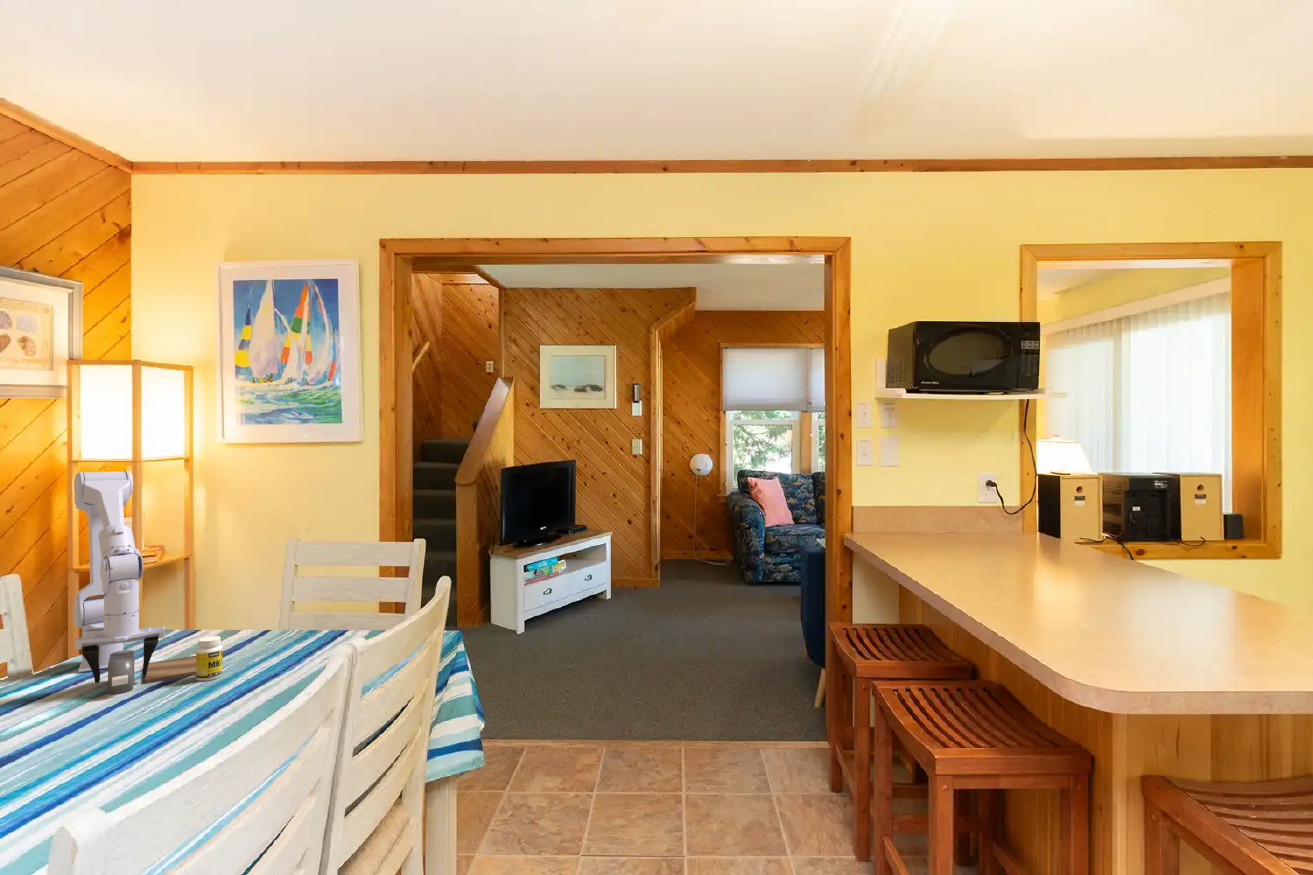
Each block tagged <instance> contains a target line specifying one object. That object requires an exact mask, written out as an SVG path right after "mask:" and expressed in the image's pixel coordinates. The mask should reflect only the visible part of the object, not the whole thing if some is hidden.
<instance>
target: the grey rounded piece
mask: <svg viewBox="0 0 1313 875" xmlns="http://www.w3.org/2000/svg"><path fill="white" fill-rule="evenodd" d="M134 683H135V650H133V649H126V650H124V649H123V651H117V652H114V653H111V654H110V658H109V662H108V668H107V694H108V695H111V696H113V695H115V696H116V695H121V694H126V693H130V692H131V691H133V690H134Z"/></svg>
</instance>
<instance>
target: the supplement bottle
mask: <svg viewBox="0 0 1313 875" xmlns="http://www.w3.org/2000/svg"><path fill="white" fill-rule="evenodd" d="M221 642H222V640H221V636H218V635H213V636H205V637H201V638H199V639H198V643H197V644H198V648H197V649H196V652H195V656H196V675H195V679H196V681H198V682H208V681H213V680H216V679H220V677H222V675H223V646H222V645H221Z"/></svg>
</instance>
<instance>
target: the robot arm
mask: <svg viewBox="0 0 1313 875" xmlns="http://www.w3.org/2000/svg"><path fill="white" fill-rule="evenodd" d="M73 481H74V482H73V492H74V498H73V499H74V504H75V509H77V510H80V511H83V512H85V514H86V517H87V520H88V525H87V526H88V552H89V555H88V556H89V561H88V562H89V583H88V584H87V585H86V586H84V587H82V588H81V589H79V591H77V592H76V594H75V595H74V601H73V602H74V603H73V609H72V610H73V611H72V612H73V614H72V615H73V623H74V626H75V628H76V627H77V628H78V629H82V630H81V631H82V632H81V633H82V635H81V636H82V637H77V638H75V641H74V648H75V649H74V650H75V651H79V650H81V654H82V657H81V662H80V665H79V668H78V673H83V672H84V673H85V672H91V673H92V675H93V680H94V684H99V683H100V681H101V671H100V670H104V669H105V670H106V669H108V662H109V658H110V654H111V653H114V652H117V651H123V650H124V643H129V642H136V641H143V662H142V676H146V675H147V668H148V664H149V663H150V661H151V658H152V656H153V654H154V651H155V650H156V648H157V646H158V644H159V639H164V638H165V637H166V635H165V634H166V633H165V632H166V630H165V629H166V627H165V626H157V627H147V628H144V627H143V628H139V627H140V581H139V580H142V578H143V574H144V562H143V561H144V560H143V557H142V554H141V552H140V551H139V548H136V545H135V539H134V538H135V537H134V534H133V530H132V528H131V527H129V526H128V525H125V515H124V507H126V506H127V504H128V502H129V501H130V498H131V495H132V494H133V491H134V490H133V489H134V478H133V474H132V473H131V472H130V470H123V471H120V470H119V471H118V470H117V471H88V472H87V471H86V472H85V471H84V472H83V471H78V472H77V473H76V474H75V475H74V480H73ZM100 595H101V596H100ZM102 595H103V596H102ZM93 596H96V597H93ZM97 596H99V597H97ZM90 597H93V598H90Z"/></svg>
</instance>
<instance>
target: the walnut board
mask: <svg viewBox="0 0 1313 875" xmlns="http://www.w3.org/2000/svg"><path fill="white" fill-rule="evenodd" d="M193 676H196V655H191V656H184V657H179V658H173V659H172V658H171V659H167V660H160V661H159V660H158V661H152V662H149V664H148V668H147V675H145V679H144V680H145V682H144V683H145V684H151V683H158V682H163V681H168V680H176V679H181V678H186V677H193Z"/></svg>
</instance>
